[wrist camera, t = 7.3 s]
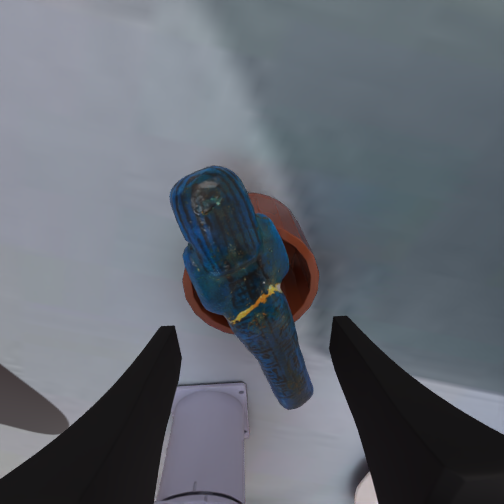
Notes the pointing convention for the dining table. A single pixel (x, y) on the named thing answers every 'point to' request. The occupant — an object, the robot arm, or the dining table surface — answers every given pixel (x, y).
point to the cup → (295, 281)
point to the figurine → (241, 274)
